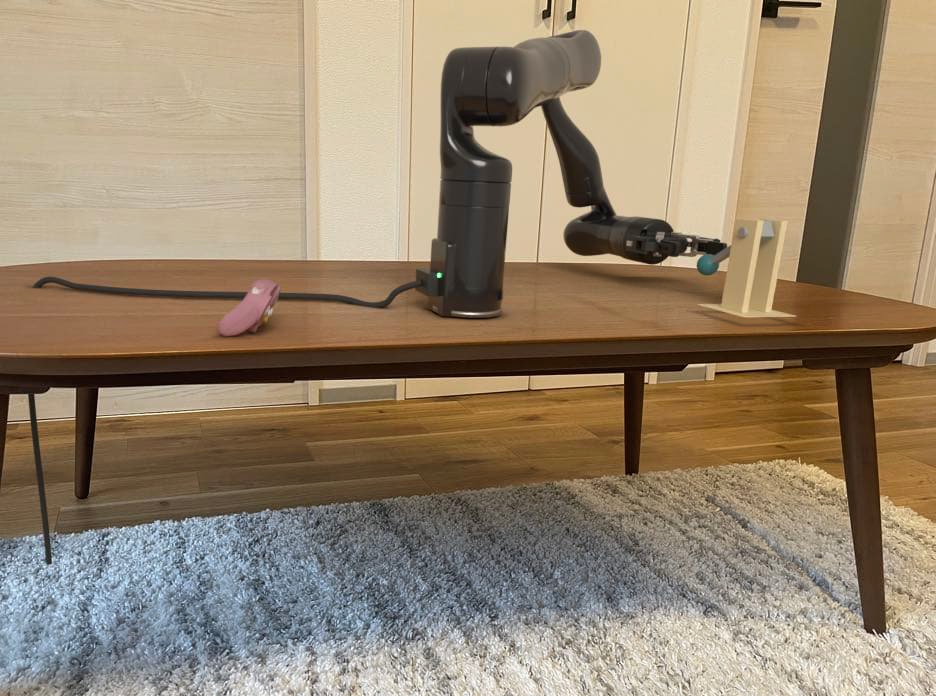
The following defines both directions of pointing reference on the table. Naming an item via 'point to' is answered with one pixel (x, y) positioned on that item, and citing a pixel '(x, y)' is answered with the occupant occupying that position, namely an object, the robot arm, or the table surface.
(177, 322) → the table surface
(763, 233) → the lever
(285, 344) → the table surface
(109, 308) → the table surface
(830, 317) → the table surface
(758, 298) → the bracket
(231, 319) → the pink rounded piece
